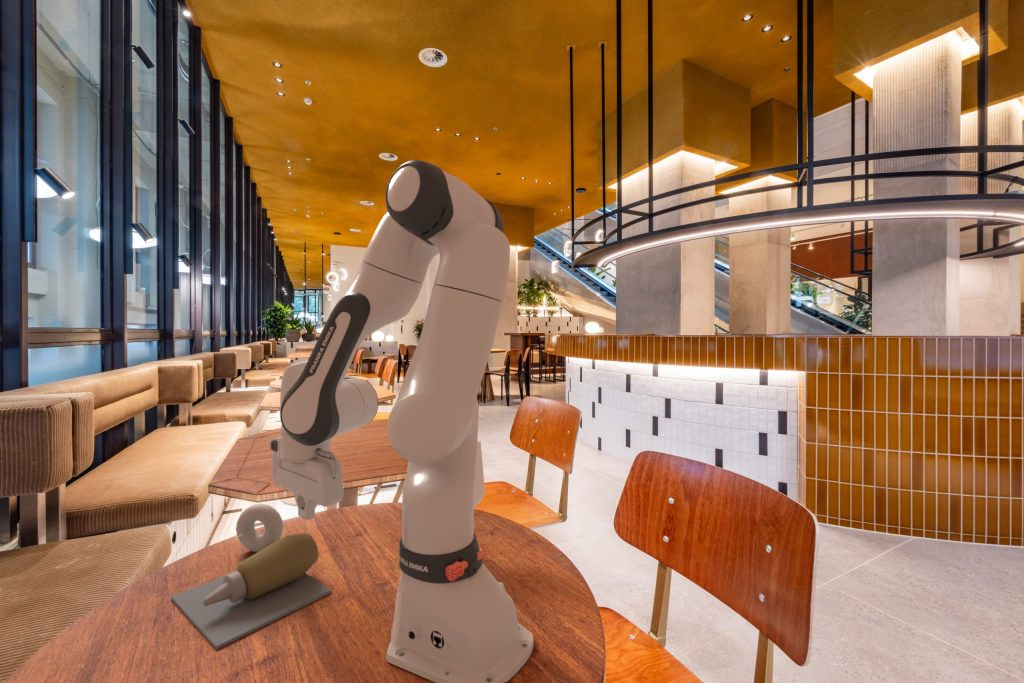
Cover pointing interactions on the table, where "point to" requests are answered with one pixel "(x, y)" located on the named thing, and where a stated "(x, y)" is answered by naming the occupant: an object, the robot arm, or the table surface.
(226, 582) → the squeeze bottle
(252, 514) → the donut
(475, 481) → the champagne flute
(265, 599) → the mat
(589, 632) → the table surface
